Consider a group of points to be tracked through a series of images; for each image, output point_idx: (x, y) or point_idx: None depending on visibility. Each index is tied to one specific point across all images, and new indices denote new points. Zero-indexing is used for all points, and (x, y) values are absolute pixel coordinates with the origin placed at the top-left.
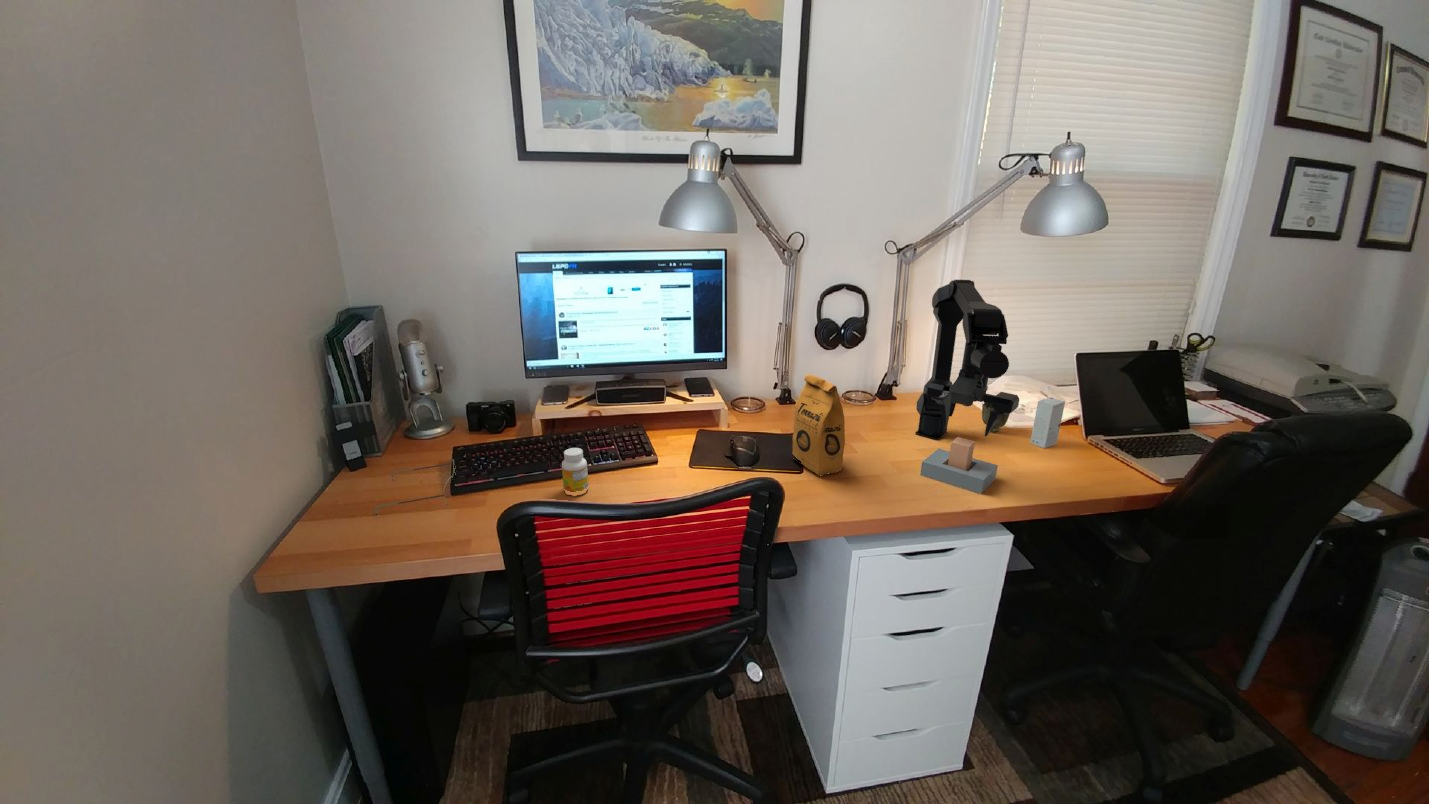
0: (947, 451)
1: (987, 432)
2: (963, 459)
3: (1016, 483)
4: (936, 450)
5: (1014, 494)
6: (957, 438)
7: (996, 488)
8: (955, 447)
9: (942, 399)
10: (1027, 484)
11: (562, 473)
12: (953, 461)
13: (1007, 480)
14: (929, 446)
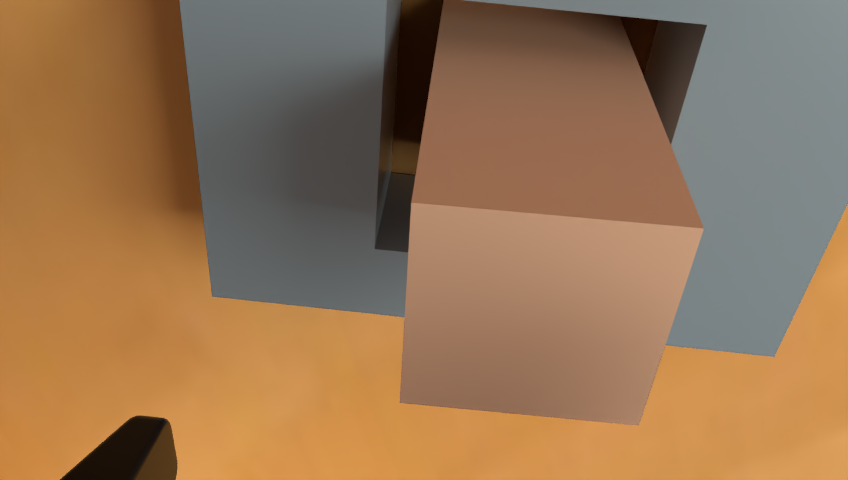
0: (683, 337)
1: (83, 473)
2: (472, 99)
3: (101, 225)
4: (793, 309)
5: (13, 26)
6: (631, 387)
7: (170, 51)
8: (615, 182)
9: None
10: (41, 249)
11: None
12: (587, 84)
13: (170, 237)
14: (811, 461)
